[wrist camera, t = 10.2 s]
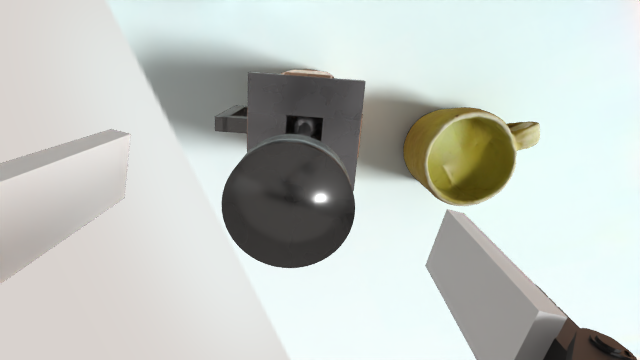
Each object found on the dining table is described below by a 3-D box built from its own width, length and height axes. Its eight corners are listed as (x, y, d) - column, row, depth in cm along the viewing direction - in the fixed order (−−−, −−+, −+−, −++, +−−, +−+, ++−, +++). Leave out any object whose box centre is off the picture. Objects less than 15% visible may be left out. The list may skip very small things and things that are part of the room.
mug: (399, 210, 42) (441, 215, 32) (384, 122, 42) (421, 100, 32) (495, 191, 44) (562, 191, 34) (480, 108, 44) (543, 83, 34)
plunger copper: (278, 83, 30) (222, 111, 13) (348, 101, 30) (388, 153, 13) (263, 152, 32) (197, 261, 14) (330, 168, 32) (344, 292, 15)
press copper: (241, 148, 42) (209, 184, 29) (242, 64, 39) (206, 64, 26) (345, 155, 42) (357, 194, 29) (353, 72, 39) (370, 77, 27)
